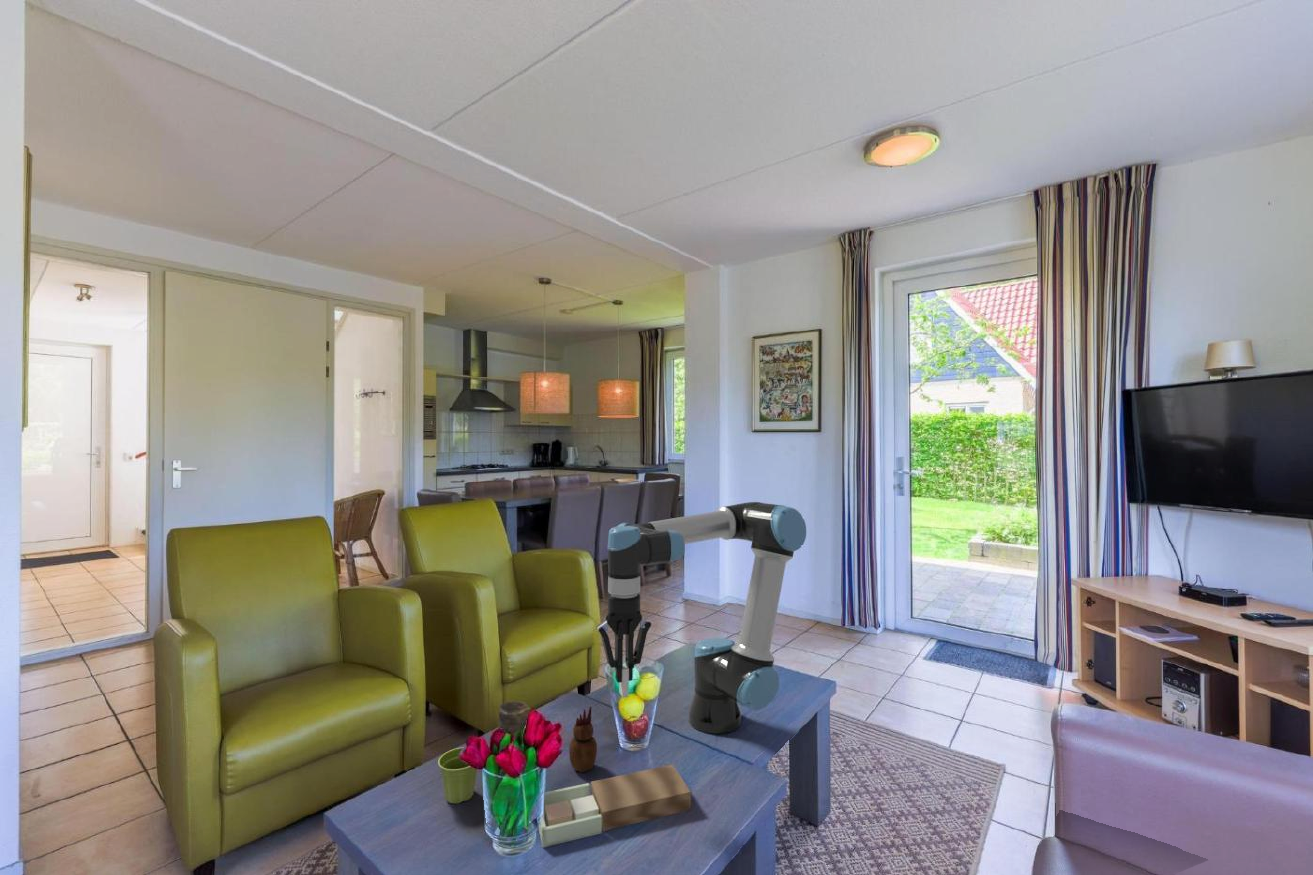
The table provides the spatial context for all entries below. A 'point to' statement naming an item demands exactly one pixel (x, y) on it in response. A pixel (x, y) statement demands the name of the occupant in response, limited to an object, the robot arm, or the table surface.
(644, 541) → the robot arm
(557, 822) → the tile
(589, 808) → the tile
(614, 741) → the table surface
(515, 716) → the candle
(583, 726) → the wooden figurine
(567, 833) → the tray
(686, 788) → the brown box sleeve
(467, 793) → the plant pot
